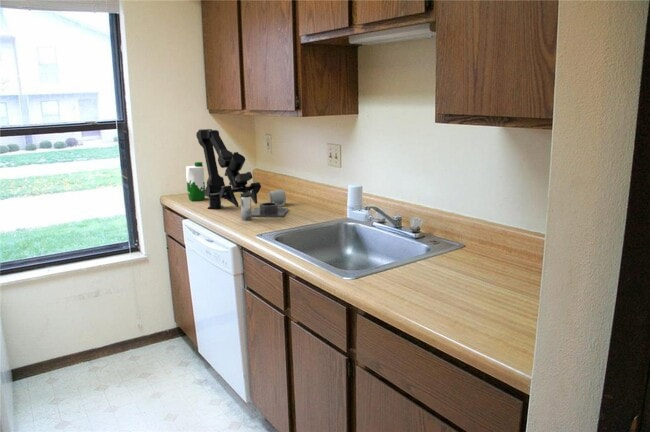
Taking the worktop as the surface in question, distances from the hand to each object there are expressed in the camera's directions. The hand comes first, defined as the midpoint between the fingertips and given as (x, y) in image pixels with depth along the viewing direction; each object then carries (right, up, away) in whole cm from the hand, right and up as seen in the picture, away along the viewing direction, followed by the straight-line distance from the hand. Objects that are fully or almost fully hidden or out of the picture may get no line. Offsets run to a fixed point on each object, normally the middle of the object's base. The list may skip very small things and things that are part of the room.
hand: (247, 205), depth 229 cm
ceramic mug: (+11, 0, +33) cm, 35 cm away
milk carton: (-35, +4, +50) cm, 61 cm away
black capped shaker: (-1, -6, +3) cm, 7 cm away
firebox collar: (+8, -4, +15) cm, 17 cm away
